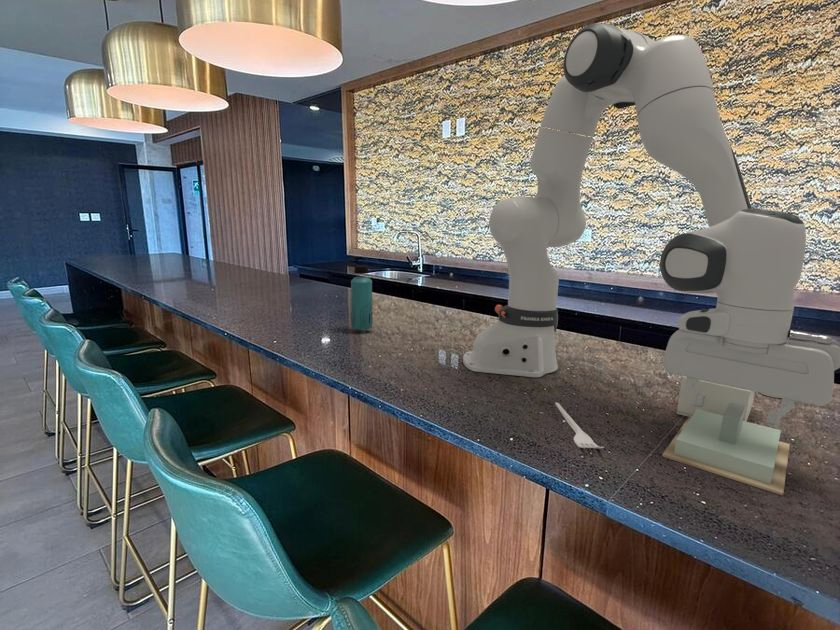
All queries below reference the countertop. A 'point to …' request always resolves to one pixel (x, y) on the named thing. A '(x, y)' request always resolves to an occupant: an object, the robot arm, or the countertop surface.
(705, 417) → the lid
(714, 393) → the storage box
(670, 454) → the tan flat sheet
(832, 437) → the countertop surface
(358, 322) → the beverage bottle
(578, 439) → the fork
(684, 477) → the countertop surface
